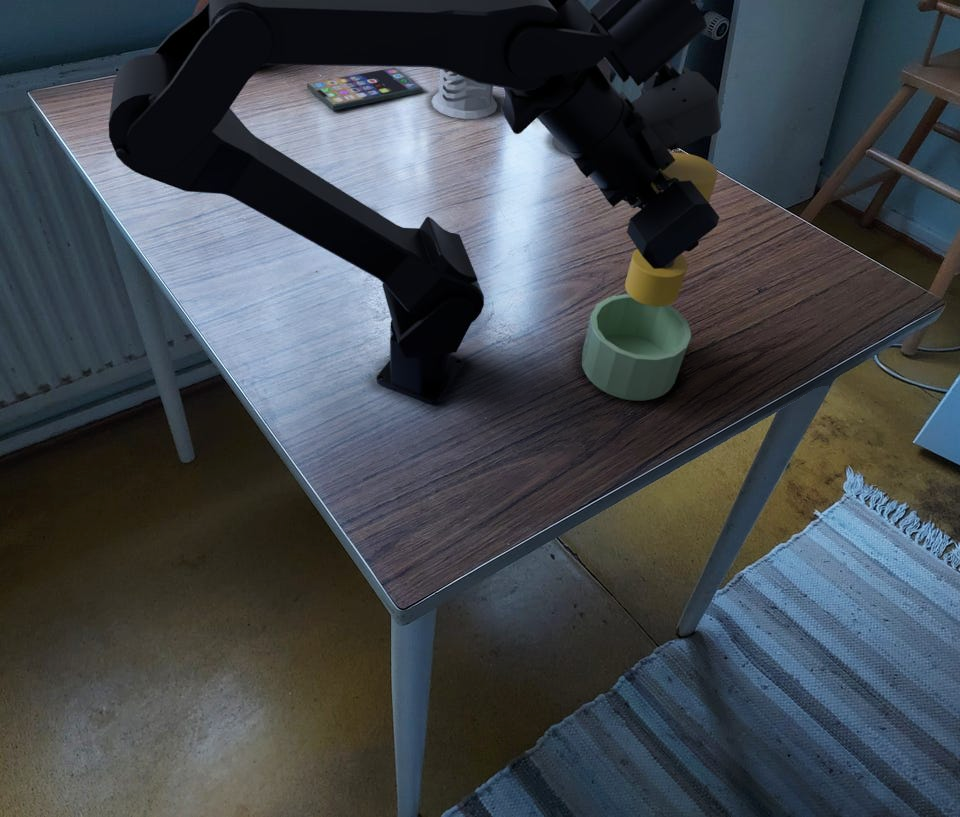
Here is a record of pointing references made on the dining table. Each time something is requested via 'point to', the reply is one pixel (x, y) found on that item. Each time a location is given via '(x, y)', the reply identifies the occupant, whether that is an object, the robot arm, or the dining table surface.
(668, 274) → the dumbbell
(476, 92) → the french press
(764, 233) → the dining table surface
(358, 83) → the smartphone
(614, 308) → the pot
